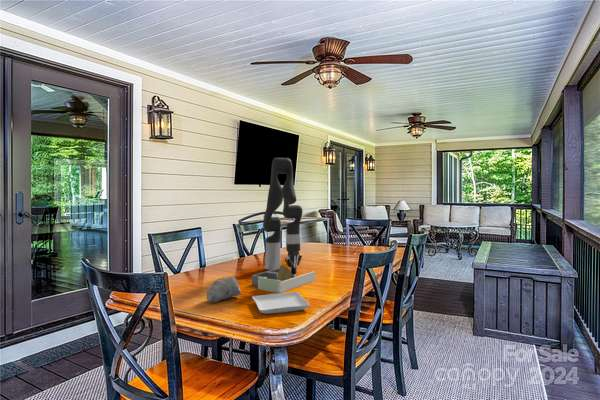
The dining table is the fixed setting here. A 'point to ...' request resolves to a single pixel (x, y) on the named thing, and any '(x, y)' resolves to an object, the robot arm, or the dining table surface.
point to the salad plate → (280, 302)
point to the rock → (284, 274)
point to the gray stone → (223, 289)
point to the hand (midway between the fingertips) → (293, 274)
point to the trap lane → (271, 283)
